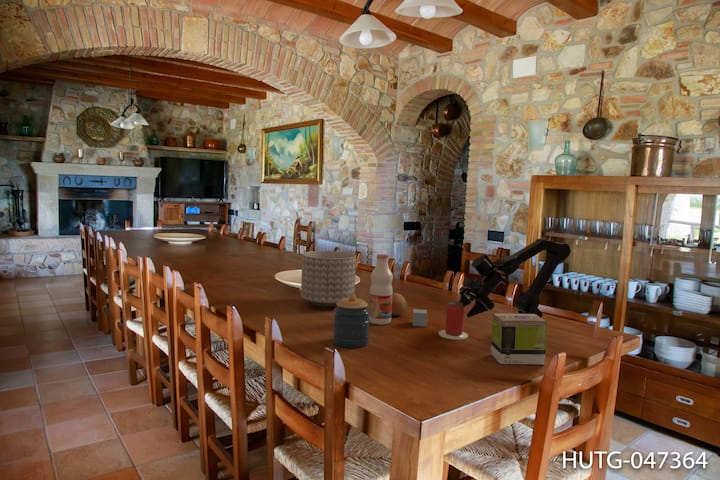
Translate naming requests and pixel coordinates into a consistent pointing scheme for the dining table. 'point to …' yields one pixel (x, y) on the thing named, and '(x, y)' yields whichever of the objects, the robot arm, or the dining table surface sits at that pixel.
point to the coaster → (460, 337)
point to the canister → (351, 323)
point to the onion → (398, 304)
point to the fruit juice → (381, 292)
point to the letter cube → (419, 317)
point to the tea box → (518, 338)
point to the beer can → (454, 318)
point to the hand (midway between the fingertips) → (461, 313)
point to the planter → (327, 277)
